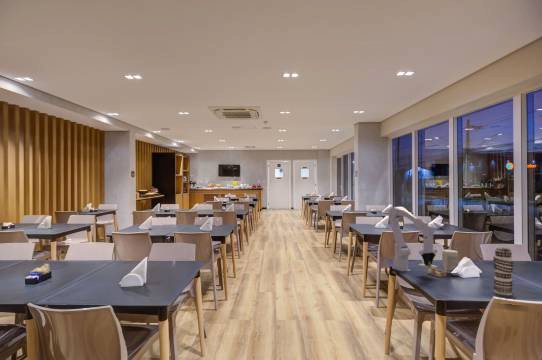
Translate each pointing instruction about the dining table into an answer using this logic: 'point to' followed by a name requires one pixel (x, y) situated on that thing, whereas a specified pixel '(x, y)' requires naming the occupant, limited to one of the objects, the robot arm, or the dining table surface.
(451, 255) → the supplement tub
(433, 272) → the box
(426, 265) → the lid
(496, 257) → the decorative candle
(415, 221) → the robot arm
